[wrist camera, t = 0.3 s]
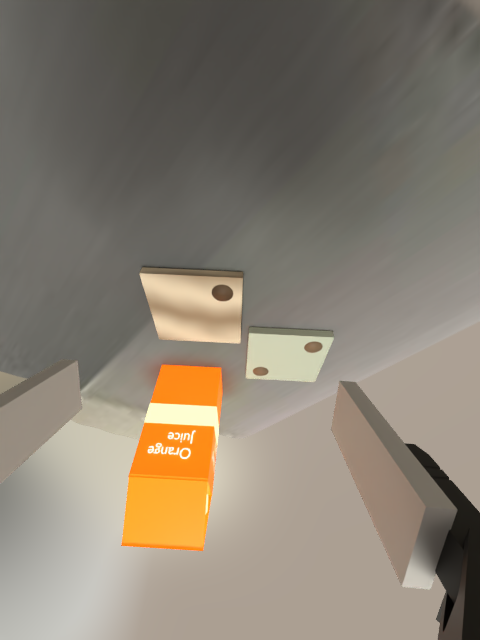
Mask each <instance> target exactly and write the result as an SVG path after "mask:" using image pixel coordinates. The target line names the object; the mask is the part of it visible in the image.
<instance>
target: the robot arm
mask: <svg viewBox="0 0 480 640" xmlns="http://www.w3.org/2000/svg"><path fill="white" fill-rule="evenodd" d="M81 409H82V402H81V392H80V382H79V371H78V361H77V360H65V359H62V360H60V361H59V362H57V363H55V364H53V365H52V366H50V367H48V368H46V369H44V370H43V371H41V372H39V373H37V374H36V375H34V376H32V377H30V378H28V379H27V380H25V381H23V382H21V383H20V384H18V385H16V386H14V387H12V388H11V389H9V390H7V391H5V392H4V393H2V394H0V483H2V482H3V481H4V480H5V479H6V478H7V477H8V476H9V475H10V474H12V473H13V472H14V471H15V470H16V469H17V468H18V467H19V466H20V465H21V464H22V463H23V462H25V461H26V460H27V459H28V458H29V457H30V456H31V455H32V454H33V453H34V452H36V450H38V449H39V448H40V447H41V446H42V445H43V444H44V443H45V442H46V441H48V440H49V439H50V438H51V437H52V436H53V435H54V434H55V433H56V432H57V431H58V430H59V429H60V428H62V427H63V426H64V425H65V424H66V423H67V422H68V421H69V420H70V419H71V418H73V417H74V416H75V415H76V414H77V413H78V412H79V411H80V410H81ZM331 430H332V432H333V434H334V437H335V439H336V441H337V443H338V445H339V448H340V450H341V452H342V454H343V456H344V459H345V461H346V463H347V466H348V468H349V470H350V472H351V475H352V477H353V479H354V481H355V483H356V486H357V488H358V490H359V492H360V494H361V497H362V499H363V501H364V503H365V506H366V508H367V510H368V512H369V514H370V517H371V519H372V521H373V523H374V526H375V528H376V530H377V532H378V535H379V537H380V539H381V541H382V543H383V546H384V548H385V550H386V552H387V555H388V556H389V559H390V561H391V564H392V566H393V568H394V570H395V572H396V575H397V577H398V579H399V581H400V583H401V586H402V587H411V588H421V589H431V586H432V583H433V580H434V577H435V574H437V575H438V577H439V579H440V580H441V582H442V584H443V586H444V588H445V589H446V593H445V596H444V599H443V601H442V604H441V607H440V609H439V612H438V615H437V618H436V620H437V621H438V622H440V627H439V634H438V640H480V513H479V511H478V510H477V509H476V508H475V507H474V506H473V505H472V503H471V502H470V501H469V500H468V499H467V498H466V496H465V495H464V494H463V493H462V492H461V491H460V490H459V489H458V487H457V486H456V485H455V484H454V483H453V482H452V481H451V480H449V477H448V476H447V475H446V474H445V473H444V471H442V470H440V467H439V466H438V465H437V463H436V462H435V461H434V460H433V459H432V458H431V457H430V456H429V455H428V454H427V453H426V452H424V451H423V450H422V449H420V448H419V447H417V446H416V445H414V444H405V443H404V442H403V441H402V440H401V439H400V437H399V436H398V435H397V434H396V432H395V431H394V430H393V429H392V427H391V426H390V425H389V424H388V422H387V421H386V420H385V419H384V417H383V416H382V415H381V414H380V412H379V411H378V410H377V409H376V407H375V406H374V405H373V404H372V402H371V401H370V400H369V399H368V397H367V396H366V395H365V394H364V392H363V391H362V390H361V389H360V387H359V386H358V385H357V384H356V382H349V381H339V387H338V393H337V398H336V404H335V411H334V416H333V422H332V427H331Z"/></svg>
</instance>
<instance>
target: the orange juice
mask: <svg viewBox="0 0 480 640" xmlns="http://www.w3.org/2000/svg"><path fill="white" fill-rule="evenodd" d="M221 401H222V378H221V368H215V367H196V366H176V365H162V367H161V370H160V373H159V377H158V380H157V383H156V387H155V390H154V393H153V397H152V400H151V403H150V405H149V408H148V412H147V415H146V418H145V422H144V427H143V430H142V433H141V437H140V440H139V444H138V447H137V450H136V454H135V457H134V460H133V463H132V467H131V470H130V473H129V483H128V492H127V501H126V511H125V520H124V529H123V539H122V545H121V546H134V547H150V548H166V549H182V550H198V551H203V547H204V540H205V534H206V528H207V521H208V514H209V508H210V502H211V496H212V490H213V480H214V470H215V460H216V450H217V444H218V434H219V421H220V411H221Z"/></svg>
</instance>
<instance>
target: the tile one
mask: <svg viewBox="0 0 480 640" xmlns="http://www.w3.org/2000/svg"><path fill="white" fill-rule="evenodd" d="M139 274H140V277H141V280H142V284H143V287H144V290H145V293H146V297H147V300H148V303H149V306H150V310H151V313H152V316H153V319H154V323H155V326H156V329H157V332H158V336H159V339H164V340H183V341H203V342H223V343H240V338H241V313H242V288H243V272H234V271H212V270H191V269H170V268H149V267H142V269H141V271H140V273H139Z"/></svg>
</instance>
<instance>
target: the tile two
mask: <svg viewBox="0 0 480 640" xmlns="http://www.w3.org/2000/svg"><path fill="white" fill-rule="evenodd" d="M333 339H334V335H333V331H321V330H301V329H281V328H261V327H249V337H248V351H247V365H246V378H251V379H270V380H289V381H307V382H315V380H316V378H317V376H318V373H319V371H320V369H321V366H322V364H323V362H324V360H325V357H326V355H327V353H328V351H329V348H330V346H331V344H332V341H333Z"/></svg>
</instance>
